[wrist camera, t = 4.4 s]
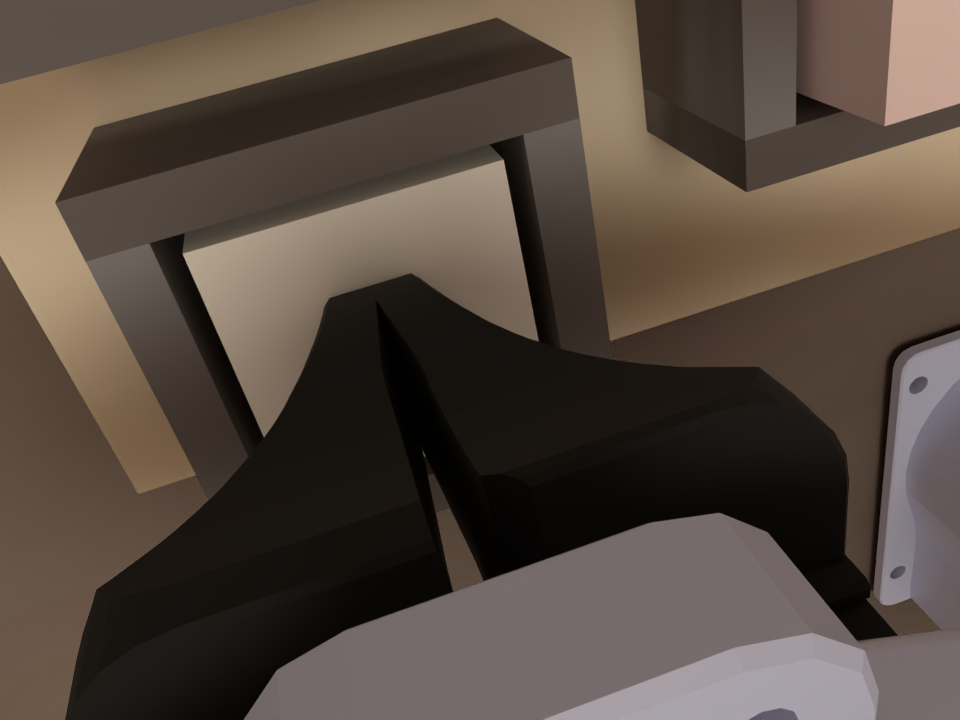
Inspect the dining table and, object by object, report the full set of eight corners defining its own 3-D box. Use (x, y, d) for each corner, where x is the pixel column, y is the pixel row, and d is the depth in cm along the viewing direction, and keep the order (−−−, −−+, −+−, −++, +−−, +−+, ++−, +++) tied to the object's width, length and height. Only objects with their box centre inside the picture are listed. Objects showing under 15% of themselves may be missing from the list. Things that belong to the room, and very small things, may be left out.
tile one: (504, 334, 16) (554, 417, 14) (281, 405, 15) (291, 504, 13) (456, 110, 14) (505, 161, 11) (190, 185, 13) (181, 257, 11)
